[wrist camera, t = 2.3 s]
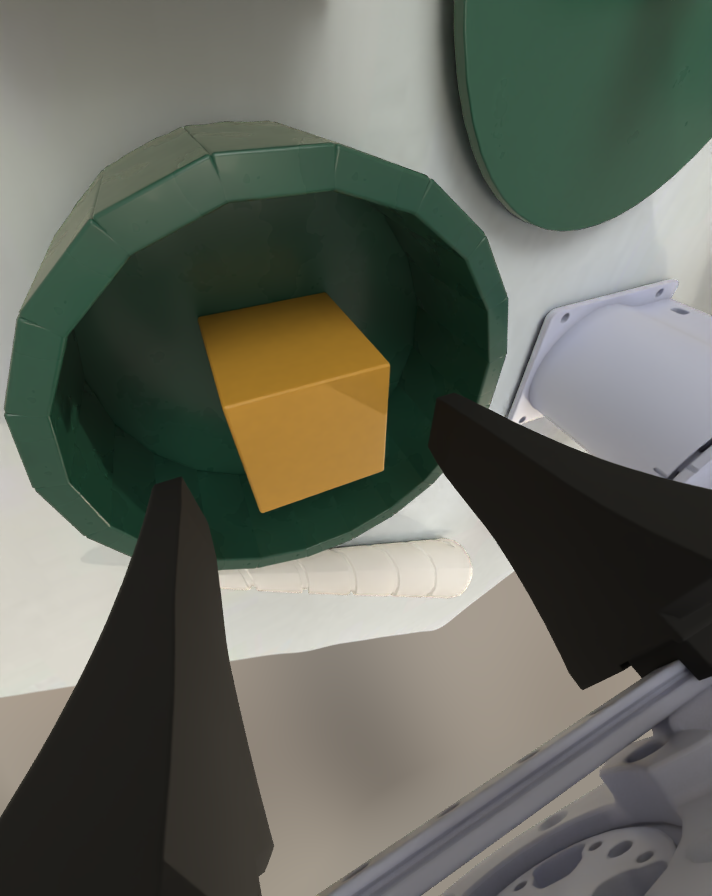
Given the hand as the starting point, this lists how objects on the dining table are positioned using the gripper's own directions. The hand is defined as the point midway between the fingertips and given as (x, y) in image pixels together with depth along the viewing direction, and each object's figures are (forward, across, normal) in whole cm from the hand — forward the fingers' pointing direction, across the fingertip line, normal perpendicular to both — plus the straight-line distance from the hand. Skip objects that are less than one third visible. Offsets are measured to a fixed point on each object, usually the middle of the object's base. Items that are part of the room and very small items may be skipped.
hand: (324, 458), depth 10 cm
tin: (+6, 0, 0) cm, 6 cm away
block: (+6, 0, 0) cm, 6 cm away
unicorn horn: (+6, -2, +18) cm, 19 cm away
